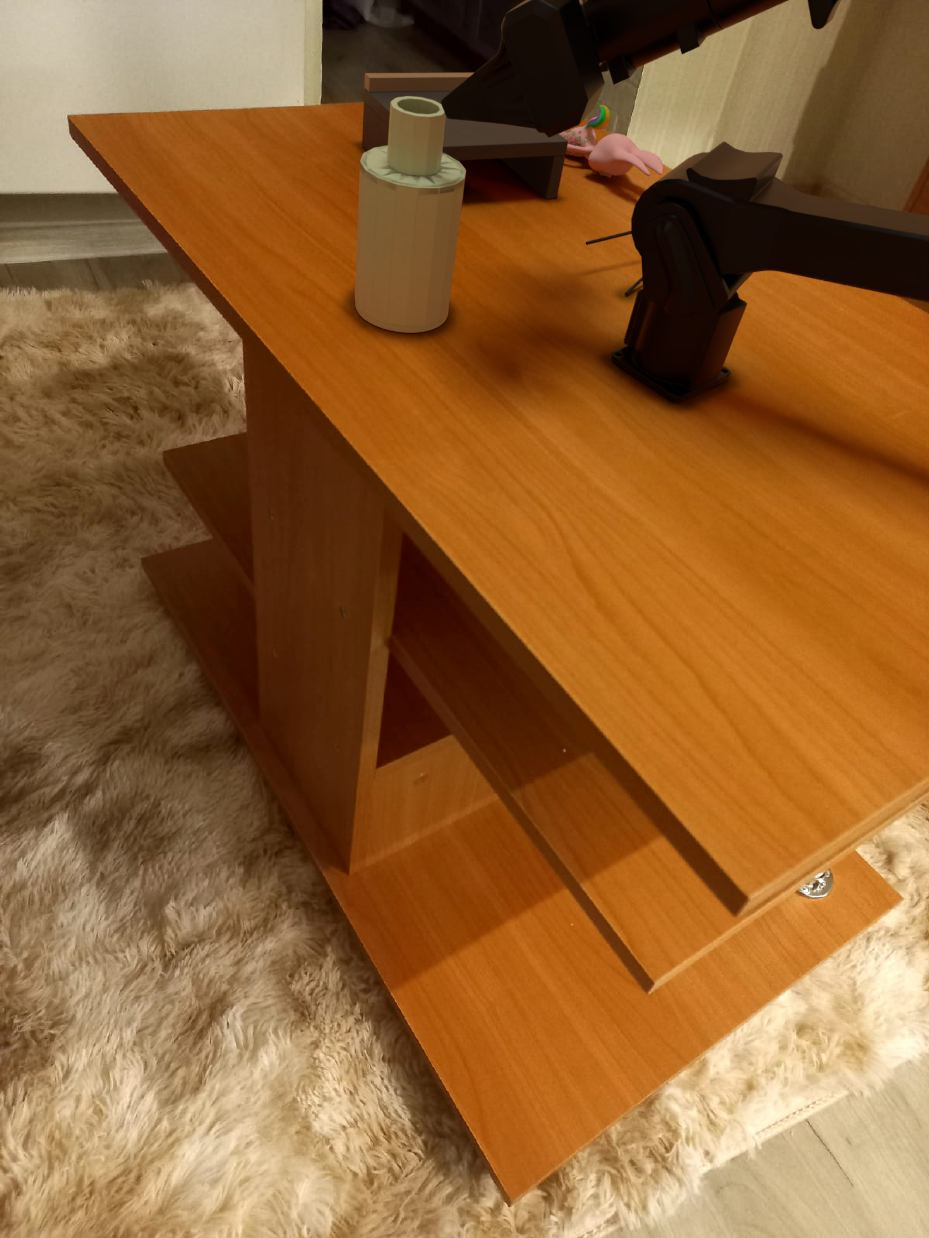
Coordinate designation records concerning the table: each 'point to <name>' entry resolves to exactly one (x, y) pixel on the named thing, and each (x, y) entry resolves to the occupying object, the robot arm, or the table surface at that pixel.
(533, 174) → the shelf
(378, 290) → the bottle
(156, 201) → the table surface
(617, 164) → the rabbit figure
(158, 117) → the table surface
